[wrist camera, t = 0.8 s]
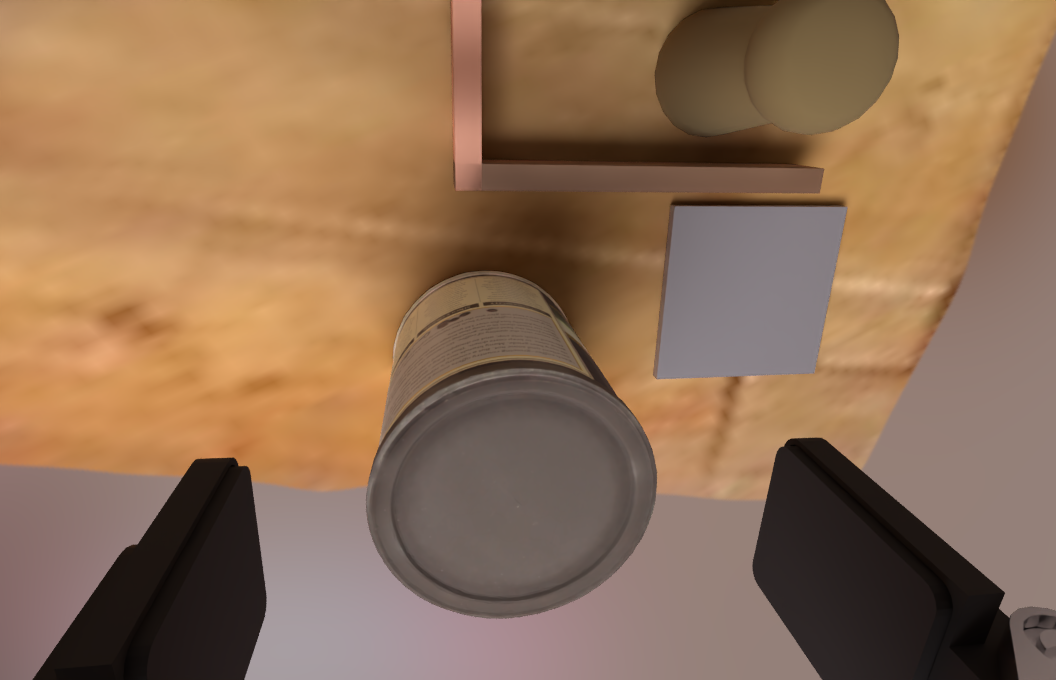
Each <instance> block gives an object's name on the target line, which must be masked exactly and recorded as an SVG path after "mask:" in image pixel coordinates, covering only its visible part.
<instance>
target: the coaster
mask: <svg viewBox="0 0 1056 680" xmlns="http://www.w3.org/2000/svg"><path fill="white" fill-rule="evenodd" d="M846 212H847V207H845V206H841V205H671V207H670V217H669V226H668V236H667V246H666V256H665V266H664V275H663V285H662V295H661V305H660V314H659V324H658V334H657V344H656V353H655V363H654V373H653V375H654V377H655V378H656V379H676V378H703V377H729V376H756V375H782V374H809V373H814V372H815V367H816V362H817V357H818V352H819V347H820V342H821V337H822V332H823V327H824V322H825V317H826V312H827V307H828V302H829V297H830V292H831V287H832V282H833V277H834V272H835V267H836V262H837V257H838V252H839V247H840V242H841V237H842V232H843V227H844V222H845V217H846Z"/></svg>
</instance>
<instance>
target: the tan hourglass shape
mask: <svg viewBox="0 0 1056 680" xmlns="http://www.w3.org/2000/svg"><path fill="white" fill-rule="evenodd" d="M898 46H899V34H898V29H897V24H896V20H895V16H894V14H893V13H892V11H891V9H890V8H889V6H888V4H887V3H886V1H885V0H778V1H777V2H776V3H775V4H774V5H768V6H740V7H718V8H711V9H704V10H700V11H698V12H696V13H694V14H692V15H691V16H689V17H687V18H685V19H683V20H682V21H681V22H680V23H679V24H678V25H677V27H676V28H675V29H674V30H673V31H672V32H671V33H670V34H669V35H668V37H667V39H666V41H665V43H664V45H663V47H662V49H661V51H660V52H659V56H658V61H657V66H656V70H655V84H656V95H657V97H658V100H659V102H660V105H661V108H662V110H663V112H664V113H665V115H666V116H667V117H668V118H669V120H670V121H671V122H672V123H673V125H674V126H676V127H678V128H679V129H681V130H683V131H684V132H686V133H688V134H690V135H696V136H701V137H711V136H717V135H722V134H727V133H731V132H735V131H740V130H744V129H748V128H753V127H757V126H761V125H765V124H770V123H772V124H774V125H775V126H777V127H779V128H780V129H782V130H783V131H788V132H794V133H799V134H806V135H813V134H819V133H825V132H831V131H834V130H836V129H839V128H841V127H843V126H845V125H847V124H849V123H851V122H853V121H854V120H856V119H858V118H860V117H861V116H862V115H863V114H864V113H865V112H866V111H867V110H868V109H869V108H870V107H871V106H872V105H873V104H874V103H875V102H876V101H877V100H878V98H879V97H880V95H881V94H882V92H883V91H884V89H885V87H886V86H887V84H888V83H889V81H890V79H891V77H892V74H893V71H894V68H895V65H896V62H897V59H898Z"/></svg>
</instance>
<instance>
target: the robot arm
mask: <svg viewBox="0 0 1056 680" xmlns="http://www.w3.org/2000/svg"><path fill="white" fill-rule="evenodd" d="M753 574H754V577H755V580H756V582H757V584H758V586H759V587H760V589H761V590H762V592H763V593H764V594H765V596H766V598H767V599H768V600H769V602H770V603H771V605H772V606H773V608H774V609H775V611H776V612H777V614H778V615H779V616H780V618H781V620H782V621H783V623H784V624H785V625H786V627H787V628H788V630H789V631H790V633H791V634H792V636H793V637H794V639H795V640H796V642H797V643H798V645H799V646H800V648H801V649H802V651H803V652H804V654H805V655H806V656H807V658H808V659H809V661H810V662H811V664H812V665H813V667H814V668H815V669H816V671H817V673H818V674H819V675H820V677H821V678H822V680H1056V611H1055V610H1052V609H1048V608H1040V607H1025V608H1019V609H1017V610H1016V611H1015V612H1013V613H1012V614H1011V616H1010V618H1009V617H1008V616H1007V615H1005V614H1004V613H1003V612H1002V611H1001V610H1000V609H999V606H1000V604H1001V601H1002V599H1003V597H1004V594H1005V592H1004V591H1002V590H1001V589H1000V588H999V587H998V586H996V585H995V584H994V583H993V582H992V581H991V580H989V579H988V578H987V577H986V576H985V575H984V574H982V573H981V572H980V571H979V570H978V569H976V568H975V567H974V566H973V565H972V564H971V563H969V562H968V561H967V560H966V559H965V558H964V557H962V556H961V555H960V554H959V553H958V552H957V551H955V550H954V549H953V548H952V547H951V546H949V545H948V544H947V543H946V542H945V541H944V540H942V539H941V538H940V537H939V536H938V535H937V534H935V533H934V532H933V531H932V530H931V529H929V528H928V527H927V526H926V525H925V524H924V523H922V522H921V521H920V520H919V519H918V518H916V517H915V516H914V515H913V514H912V513H911V512H910V511H908V510H907V509H906V508H905V507H904V506H902V505H901V504H900V503H899V502H897V500H895V499H894V498H893V497H892V496H891V495H890V494H888V493H887V492H886V491H885V490H884V489H882V488H881V487H880V486H879V485H878V484H877V483H875V482H874V481H873V480H872V479H871V478H870V477H868V476H867V475H866V474H865V473H864V472H863V471H861V470H860V469H859V468H858V467H857V466H855V465H854V464H853V463H852V462H851V461H850V460H848V459H847V458H846V457H845V456H844V455H843V454H841V453H840V452H839V451H838V450H837V449H835V448H834V447H833V446H832V445H831V444H830V443H828V442H827V441H826V440H824V439H823V438H794V439H790V440H788V441H787V442H786V444H785V445H784V447H781V448H779V450H778V451H777V454H776V458H775V462H774V467H773V472H772V476H771V481H770V485H769V490H768V495H767V499H766V504H765V508H764V513H763V518H762V522H761V527H760V531H759V536H758V541H757V545H756V550H755V554H754V559H753ZM265 611H266V590H265V581H264V574H263V566H262V559H261V551H260V543H259V535H258V528H257V521H256V513H255V505H254V497H253V489H252V482H251V475H250V470H249V468H248V467H247V466H238V463H237V461H236V459H235V458H210V459H196V460H195V461H194V462H193V463H192V464H191V466H190V467H189V469H188V470H187V472H186V473H185V475H184V476H183V478H182V479H181V481H180V482H179V484H178V485H177V487H176V488H175V490H174V491H173V493H172V494H171V496H170V497H169V499H168V500H167V502H166V503H165V505H164V506H163V508H162V509H161V511H160V512H159V513H158V515H157V516H156V518H155V519H154V521H153V522H152V524H151V525H150V527H149V528H148V530H147V531H146V533H145V534H144V536H143V537H142V539H141V540H140V542H139V543H138V545H131V546H129V547H127V548H126V549H125V550H124V551H123V552H122V553H121V554H120V555H119V557H118V558H117V559H116V561H115V562H114V564H113V565H112V567H111V568H110V569H109V571H108V572H107V574H106V575H105V577H104V578H103V580H102V581H101V582H100V584H99V585H98V587H97V588H96V590H95V591H94V593H93V594H92V595H91V597H90V598H89V600H88V601H87V603H86V604H85V605H84V607H83V608H82V610H81V611H80V613H79V614H78V615H77V617H76V618H75V620H74V621H73V623H72V624H71V625H70V627H69V628H68V630H67V631H66V633H65V634H64V635H63V637H62V638H61V640H60V641H59V643H58V644H57V645H56V647H55V648H54V650H53V651H52V653H51V654H50V655H49V657H48V658H47V660H46V661H45V663H44V664H43V666H42V667H41V668H40V670H39V671H38V673H37V674H36V676H35V677H34V678H33V680H244V678H245V675H246V672H247V669H248V666H249V663H250V660H251V657H252V654H253V651H254V648H255V645H256V642H257V639H258V636H259V633H260V629H261V627H262V623H263V621H264V617H265Z"/></svg>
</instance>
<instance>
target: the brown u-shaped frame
mask: <svg viewBox="0 0 1056 680" xmlns="http://www.w3.org/2000/svg"><path fill="white" fill-rule="evenodd" d="M451 57H452V113H453V170H454V186H455V190H456V191H569V192H702V193H820V189H821V183H822V178H823V172H824V169H823V168H816V167H809V166H802V165H795V164H755V163H687V162H619V161H552V160H484V159H482V92H481V0H451Z"/></svg>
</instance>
